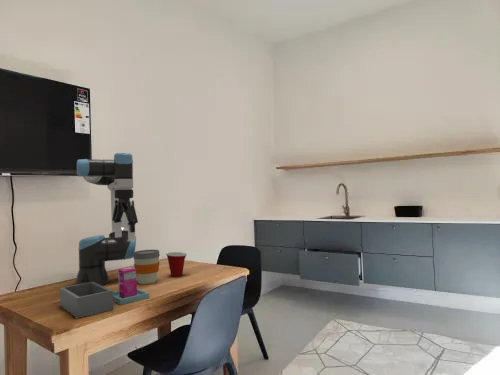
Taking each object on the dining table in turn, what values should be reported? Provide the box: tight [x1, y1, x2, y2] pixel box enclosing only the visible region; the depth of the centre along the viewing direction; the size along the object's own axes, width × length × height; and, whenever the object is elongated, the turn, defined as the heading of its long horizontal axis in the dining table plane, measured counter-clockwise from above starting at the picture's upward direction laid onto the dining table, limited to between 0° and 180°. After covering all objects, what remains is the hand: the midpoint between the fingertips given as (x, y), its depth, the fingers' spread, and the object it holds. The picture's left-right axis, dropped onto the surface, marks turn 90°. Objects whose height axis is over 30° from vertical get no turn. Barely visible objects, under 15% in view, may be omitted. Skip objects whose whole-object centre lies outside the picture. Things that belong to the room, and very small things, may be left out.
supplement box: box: [117, 267, 138, 298], centre depth 140 cm, size 6×6×12 cm
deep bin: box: [59, 282, 114, 319], centre depth 129 cm, size 21×12×7 cm, turn 43°
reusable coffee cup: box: [133, 249, 161, 285], centre depth 168 cm, size 12×13×15 cm
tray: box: [113, 287, 150, 306], centre depth 140 cm, size 14×12×2 cm
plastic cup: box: [165, 251, 187, 278], centre depth 179 cm, size 11×11×12 cm
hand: (124, 238), depth 144 cm, fingers open, 13 cm apart
